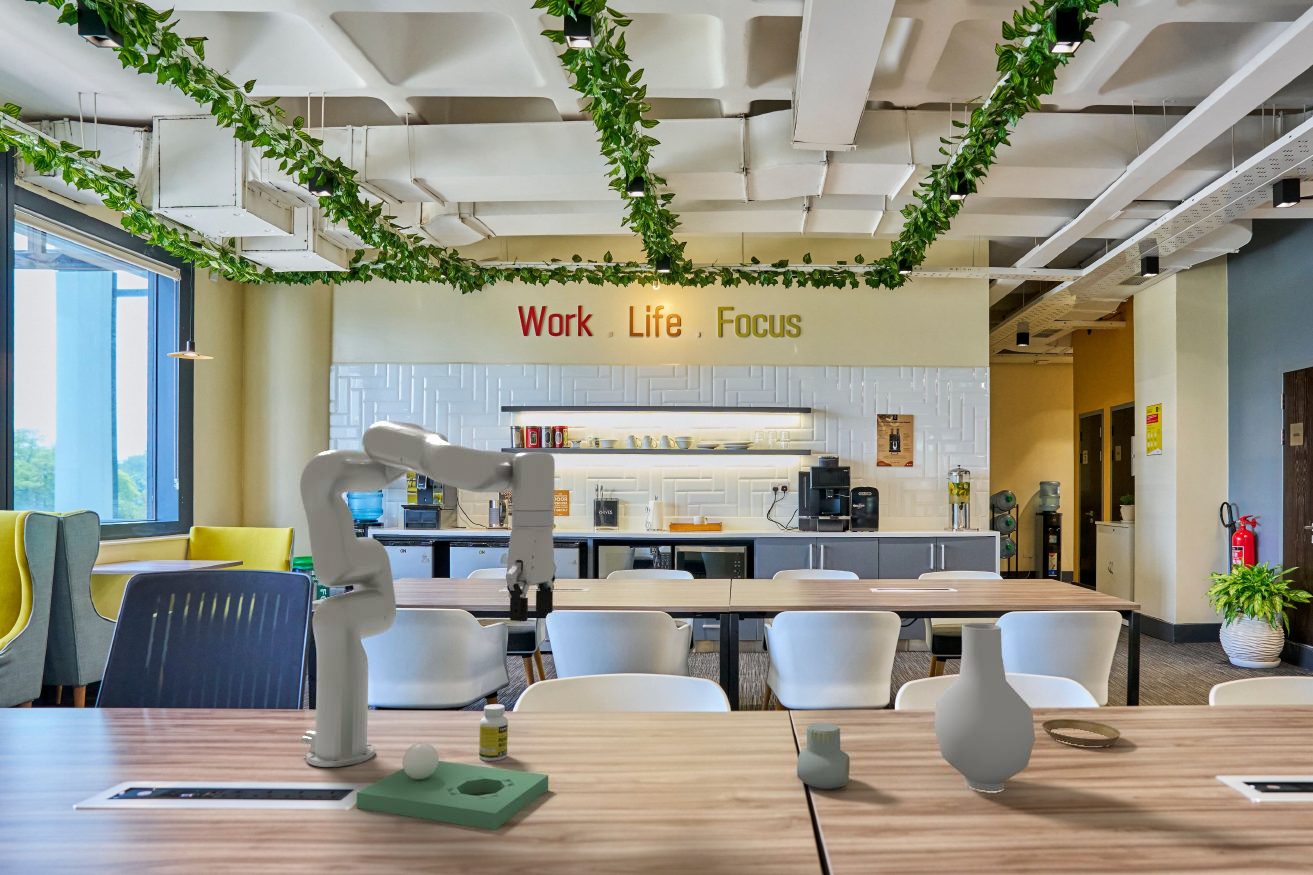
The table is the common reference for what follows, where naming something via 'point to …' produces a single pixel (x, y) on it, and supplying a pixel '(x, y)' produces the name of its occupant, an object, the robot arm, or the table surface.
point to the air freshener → (823, 758)
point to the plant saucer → (1082, 725)
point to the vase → (984, 715)
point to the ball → (420, 761)
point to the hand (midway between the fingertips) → (531, 616)
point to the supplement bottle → (493, 733)
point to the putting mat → (456, 794)
